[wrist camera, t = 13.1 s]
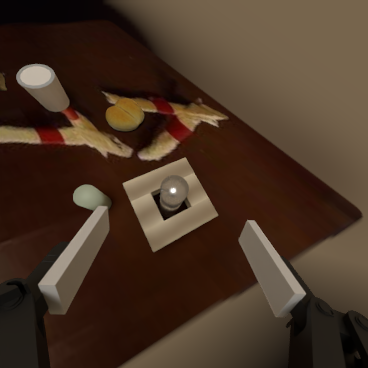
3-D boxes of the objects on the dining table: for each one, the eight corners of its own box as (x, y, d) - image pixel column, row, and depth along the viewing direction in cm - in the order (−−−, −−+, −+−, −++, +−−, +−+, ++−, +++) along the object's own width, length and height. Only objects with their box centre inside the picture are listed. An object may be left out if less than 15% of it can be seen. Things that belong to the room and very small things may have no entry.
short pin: (90, 200, 32) (70, 190, 25) (108, 193, 33) (93, 181, 26) (96, 215, 31) (77, 210, 24) (114, 207, 32) (100, 200, 25)
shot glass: (38, 95, 38) (12, 66, 31) (68, 89, 40) (50, 61, 33) (44, 116, 36) (18, 91, 30) (75, 110, 38) (58, 84, 32)
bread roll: (101, 120, 39) (95, 108, 35) (126, 101, 42) (122, 87, 38) (126, 139, 38) (123, 129, 34) (150, 118, 41) (149, 106, 37)
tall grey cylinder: (157, 204, 34) (155, 181, 19) (171, 197, 35) (180, 170, 20) (164, 219, 33) (168, 207, 18) (178, 212, 34) (193, 194, 19)
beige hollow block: (131, 196, 34) (122, 183, 25) (179, 174, 37) (185, 157, 29) (154, 247, 31) (153, 252, 23) (203, 219, 35) (218, 215, 26)
